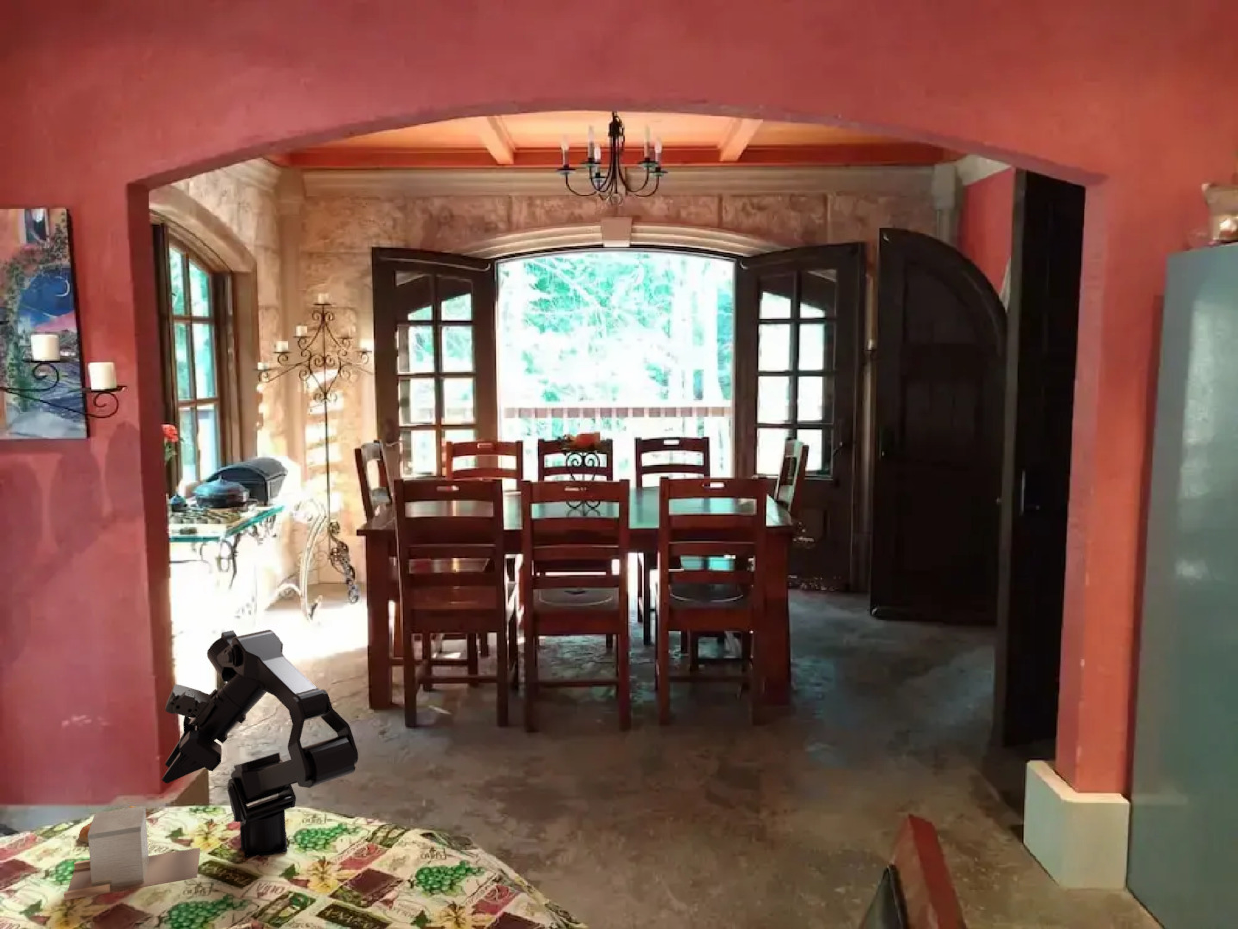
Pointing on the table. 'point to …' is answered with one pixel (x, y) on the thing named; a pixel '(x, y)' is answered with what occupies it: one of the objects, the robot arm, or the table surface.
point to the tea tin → (118, 847)
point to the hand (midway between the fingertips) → (165, 773)
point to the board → (157, 872)
